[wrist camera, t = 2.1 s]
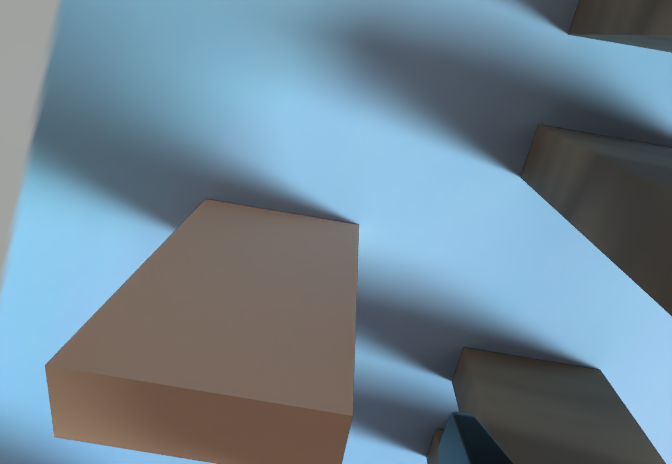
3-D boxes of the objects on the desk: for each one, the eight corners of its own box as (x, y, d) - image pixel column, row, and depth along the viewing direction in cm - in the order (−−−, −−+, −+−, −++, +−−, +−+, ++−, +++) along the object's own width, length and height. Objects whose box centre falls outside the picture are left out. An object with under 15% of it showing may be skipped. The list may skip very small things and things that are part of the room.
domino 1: (350, 267, 15) (337, 483, 8) (203, 243, 15) (54, 437, 8) (358, 224, 15) (352, 415, 7) (205, 198, 15) (44, 365, 7)
